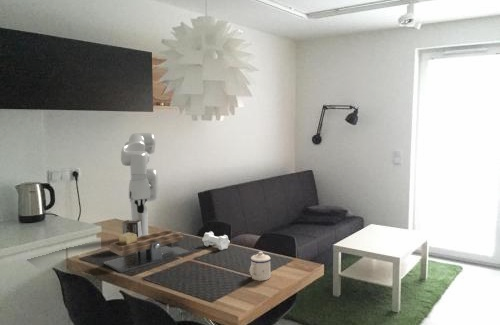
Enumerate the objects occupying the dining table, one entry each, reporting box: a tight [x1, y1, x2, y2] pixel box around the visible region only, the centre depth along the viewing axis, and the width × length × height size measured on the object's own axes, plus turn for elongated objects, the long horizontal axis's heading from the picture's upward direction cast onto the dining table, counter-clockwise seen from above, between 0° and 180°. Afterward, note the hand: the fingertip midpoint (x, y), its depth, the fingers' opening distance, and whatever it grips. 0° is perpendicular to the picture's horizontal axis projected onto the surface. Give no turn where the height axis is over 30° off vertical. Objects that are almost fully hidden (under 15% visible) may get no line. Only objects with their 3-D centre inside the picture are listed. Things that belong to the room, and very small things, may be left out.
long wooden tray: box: [109, 228, 184, 257], centre depth 210 cm, size 36×12×7 cm, turn 134°
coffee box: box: [121, 219, 142, 237], centre depth 226 cm, size 9×6×16 cm
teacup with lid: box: [249, 251, 272, 282], centre depth 181 cm, size 12×9×12 cm
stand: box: [103, 241, 191, 274], centre depth 210 cm, size 19×40×10 cm, turn 134°
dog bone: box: [201, 231, 231, 251], centre depth 228 cm, size 15×9×8 cm, turn 48°
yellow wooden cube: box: [118, 232, 137, 246], centre depth 202 cm, size 6×6×6 cm
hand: (140, 212), depth 207 cm, fingers closed
